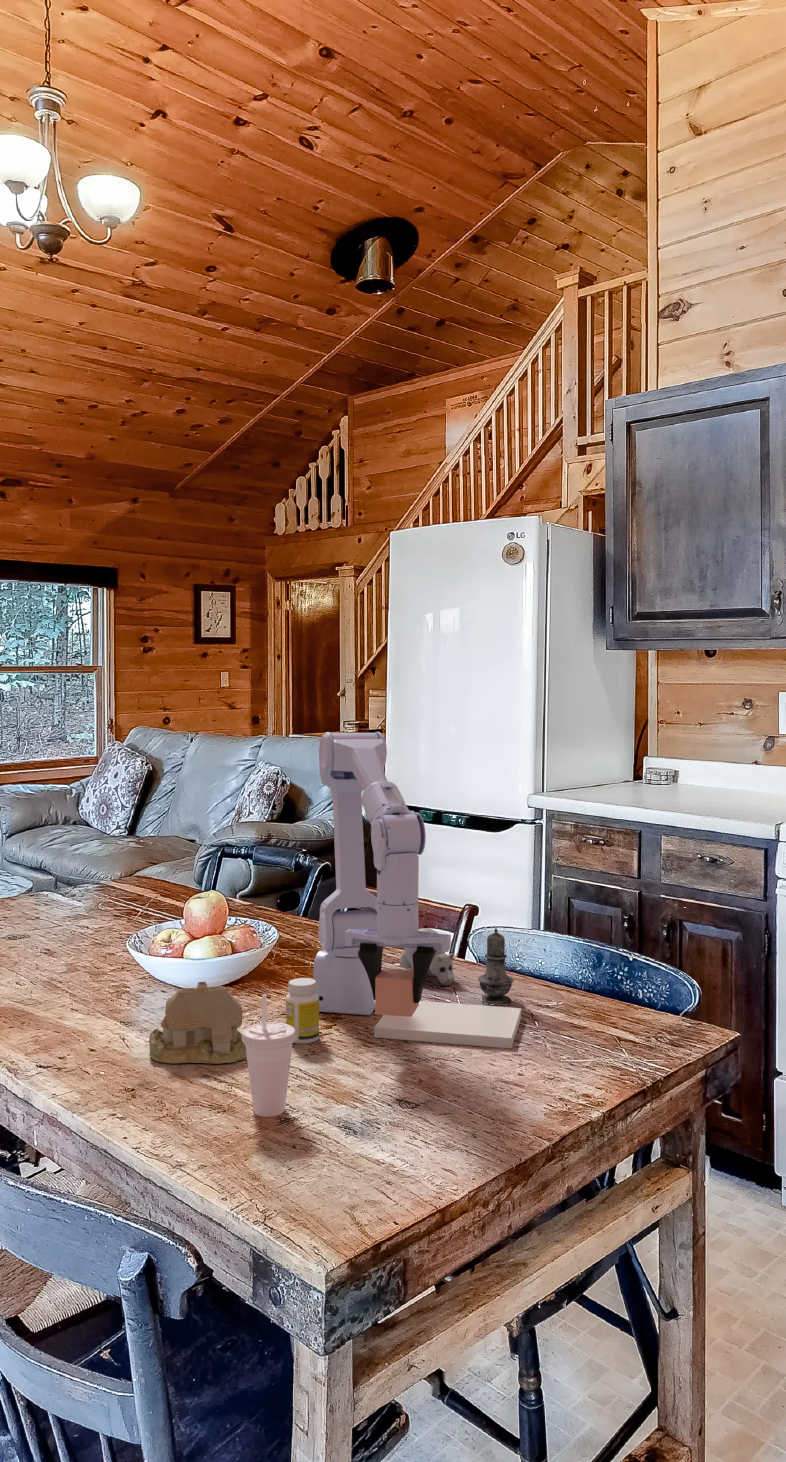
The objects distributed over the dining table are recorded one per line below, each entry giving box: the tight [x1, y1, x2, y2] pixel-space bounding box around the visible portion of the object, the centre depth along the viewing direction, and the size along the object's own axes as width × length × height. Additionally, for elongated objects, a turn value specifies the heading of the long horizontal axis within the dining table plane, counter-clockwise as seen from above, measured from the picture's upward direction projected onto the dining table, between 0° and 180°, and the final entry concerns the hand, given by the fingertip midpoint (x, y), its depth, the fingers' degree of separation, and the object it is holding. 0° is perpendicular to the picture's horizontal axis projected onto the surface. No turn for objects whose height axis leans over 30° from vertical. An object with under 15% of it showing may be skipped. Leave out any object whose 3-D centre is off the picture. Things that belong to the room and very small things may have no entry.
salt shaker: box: [477, 927, 515, 1006], centre depth 163 cm, size 6×6×12 cm
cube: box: [374, 967, 419, 1017], centre depth 137 cm, size 5×5×5 cm
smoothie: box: [242, 993, 296, 1118], centre depth 119 cm, size 6×6×14 cm
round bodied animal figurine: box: [398, 927, 455, 986], centre depth 176 cm, size 7×12×8 cm, turn 34°
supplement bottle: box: [285, 977, 320, 1045], centre depth 145 cm, size 5×5×8 cm
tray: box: [373, 1000, 522, 1049], centre depth 150 cm, size 20×14×2 cm
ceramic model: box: [148, 981, 247, 1064], centre depth 139 cm, size 14×11×10 cm
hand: (397, 999), depth 137 cm, fingers closed on cube, 5 cm apart
